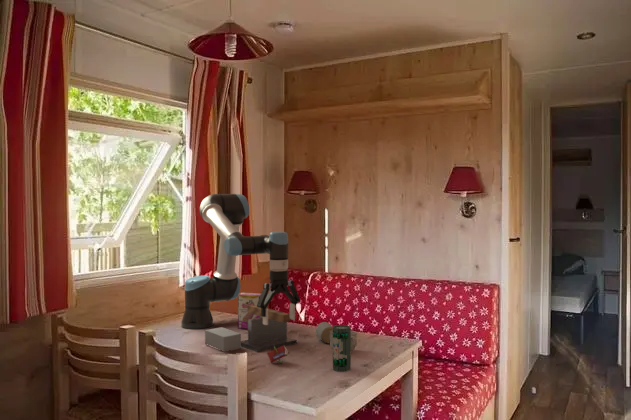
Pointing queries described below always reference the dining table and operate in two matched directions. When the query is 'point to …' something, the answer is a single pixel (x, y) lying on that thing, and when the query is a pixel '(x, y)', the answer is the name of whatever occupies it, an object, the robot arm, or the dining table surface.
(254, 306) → the walnut bar
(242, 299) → the candy bar box
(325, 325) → the ceramic mug
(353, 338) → the teacup
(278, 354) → the geometric puzzle
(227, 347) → the grey stand
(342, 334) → the can
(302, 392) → the dining table surface
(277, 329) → the metal ridge
